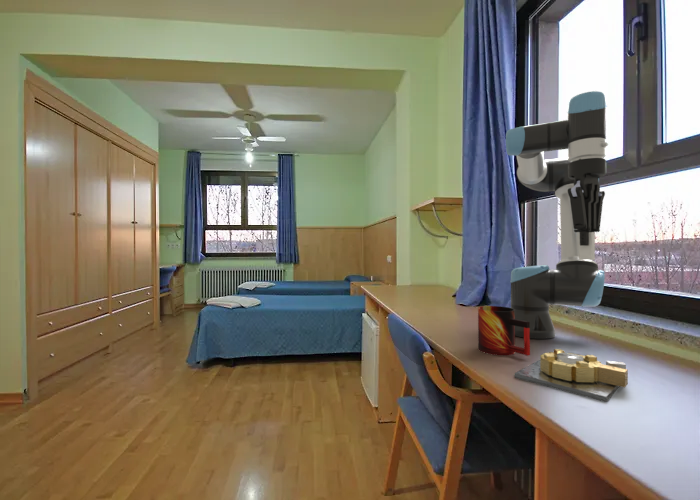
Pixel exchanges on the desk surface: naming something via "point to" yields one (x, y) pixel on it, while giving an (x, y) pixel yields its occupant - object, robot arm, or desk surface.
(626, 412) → the desk surface
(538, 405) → the desk surface
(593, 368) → the octagonal block ring
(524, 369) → the grey base plate
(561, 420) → the desk surface
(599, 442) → the desk surface
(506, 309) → the mug
